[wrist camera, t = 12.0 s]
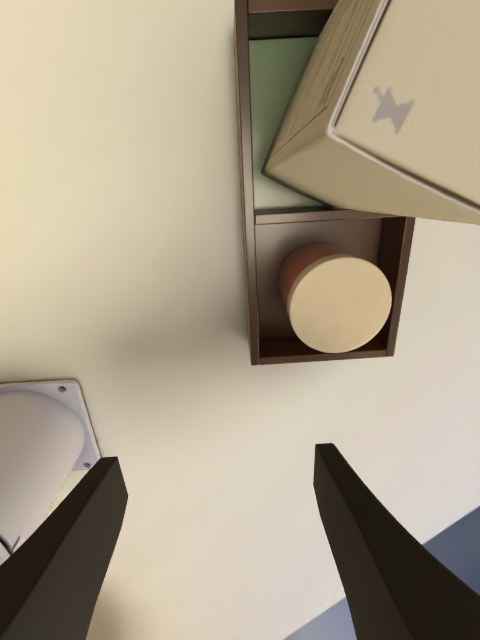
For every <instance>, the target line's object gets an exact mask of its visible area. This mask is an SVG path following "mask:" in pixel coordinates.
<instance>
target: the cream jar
mask: <svg viewBox="0 0 480 640" xmlns="http://www.w3.org/2000/svg"><path fill="white" fill-rule="evenodd" d="M277 287H278V292H279V295H280V297H281V299H282V301H283V304H284V306H285V308H286V310H287V313H288V318H289V321H290V323H291V326H292V328H293V330H294V332H295V333H296V335H297V336H298V337H299V339H300V340H301V341H302V342H303V343H305V344H306V345H307V346H309V347H311V348H313V349H315V350H318V351H322V352H327V353H341V352H346V351H350V350H353V349H356V348H358V347H360V346H362V345H364V344H365V343H367V342H368V341H369V340H371V339H372V338H373V337H374V336H375V335H376V334H377V333H378V332H379V331H380V330H381V328H382V327H383V325H384V324H385V322H386V320H387V318H388V315H389V312H390V308H391V300H392V297H391V289H390V285H389V283H388V280H387V279H386V277H385V275H384V274H383V273H382V271H381V270H380V269H379V268H378V267H376V266H375V265H374V264H372V263H371V262H369V261H367V260H365V259H363V258H361V257H358V256H355V255H352V254H350V253H348V252H346V251H344V250H343V249H341V248H339V247H337V246H335V245H333V244H331V243H327V242H311V243H307V244H305V245H302V246H300V247H298V248H297V249H295V250H294V251H292V252H291V253H290V254H289V255H288V256H287V258H286V259H285V260H284V262H283V263H282V265H281V267H280V270H279V273H278V278H277Z"/></svg>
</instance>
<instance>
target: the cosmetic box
mask: <svg viewBox="0 0 480 640" xmlns="http://www.w3.org/2000/svg"><path fill="white" fill-rule="evenodd" d="M261 173H262V175H264V176H266V177H268V178H270V179H272V180H274V181H276V182H278V183H279V184H281V185H283V186H285V187H287V188H289V189H292V190H294V191H296V192H298V193H300V194H302V195H304V196H306V197H308V198H310V199H313V200H315V201H317V202H319V203H322V204H324V205H326V206H329V207H338V208H344V209H352V210H361V211H367V212H375V213H383V214H392V215H399V216H408V217H416V218H425V219H434V220H442V221H450V222H460V223H470V224H479V225H480V0H339V1H338V3H337V5H336V7H335V8H334V10H333V12H332V14H331V16H330V17H329V19H328V21H327V23H326V25H325V26H324V28H323V30H322V32H321V34H320V35H319V37H318V39H317V41H316V42H315V44H314V46H313V49H312V51H311V53H310V55H309V58H308V60H307V62H306V64H305V67H304V69H303V71H302V73H301V76H300V78H299V80H298V83H297V85H296V87H295V90H294V92H293V94H292V97H291V99H290V101H289V104H288V106H287V108H286V111H285V113H284V116H283V118H282V120H281V123H280V125H279V128H278V130H277V133H276V135H275V138H274V140H273V142H272V145H271V147H270V150H269V153H268V155H267V158H266V160H265V163H264V165H263V168H262V172H261Z"/></svg>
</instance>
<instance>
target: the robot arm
mask: <svg viewBox="0 0 480 640" xmlns="http://www.w3.org/2000/svg"><path fill="white" fill-rule="evenodd" d="M61 386H64V387H65V388H66V389H63V388H62V387H61ZM88 469H90V470H89V471H88V472H87V474H86V475H85V476H84V477H83V478H82V479H81V481H80V482H79V483H78V484H77V485H76V486H75V488H74V489H73V490H72V491H71V492H70V493H69V494H68V496H67V497H66V498H65V499H64V500H63V501H62V502H61V503H60V505H59V506H58V507H57V508H56V509H55V510H54V511H53V512H52V513H51V515H50V516H49V517H48V518H47V519H46V520H45V521H44V519H45V517H46V515H47V513H48V511H49V510H50V508H51V506H52V504H53V502H54V501H55V499H56V497H57V495H58V493H59V491H60V490H61V488H62V486H63V484H64V482H65V481H66V479H67V477H68V475H69V473H70V471H73V470H88ZM313 485H314V490H315V495H316V499H317V504H318V508H319V513H320V516H321V520H322V523H323V526H324V529H325V532H326V535H327V538H328V541H329V544H330V547H331V551H332V554H333V557H334V560H335V563H336V566H337V569H338V572H339V575H340V578H341V581H342V584H343V587H344V591H345V594H346V598H347V601H348V605H349V609H350V613H351V617H352V621H353V625H354V629H355V633H356V637H357V640H480V595H478V594H477V593H476V592H475V591H474V590H472V589H471V588H470V587H469V586H468V585H466V584H465V583H464V582H463V581H462V580H460V579H459V578H458V577H457V576H455V575H454V574H453V573H452V572H451V571H450V570H449V569H447V568H446V567H445V566H444V565H443V564H442V563H441V562H439V561H438V560H437V559H436V558H435V557H434V556H433V555H432V554H431V553H430V552H429V551H428V550H426V549H425V548H424V547H423V546H422V545H421V544H420V543H419V542H418V541H417V540H416V539H415V538H414V537H413V536H412V535H411V534H410V533H409V532H408V531H407V530H406V529H405V528H404V527H403V526H402V525H401V524H400V523H399V522H398V521H397V520H396V519H395V518H394V517H393V516H392V514H391V513H390V512H389V511H388V510H387V509H386V508H385V507H384V506H383V505H382V504H381V502H380V501H379V500H378V499H377V498H376V497H375V496H374V494H373V493H372V492H371V491H370V490H369V488H368V487H367V486H366V485H365V484H364V483H363V481H362V480H361V479H360V478H359V476H358V475H357V474H356V473H355V471H354V470H353V469H352V468H351V466H350V465H349V464H348V462H347V461H346V460H345V458H344V457H343V456H342V454H341V453H340V452H339V450H338V449H337V447H336V446H335V445H334V444H333V443H326V444H316V445H315V464H314V482H313ZM127 500H128V493H127V490H126V486H125V482H124V479H123V475H122V472H121V468H120V464H119V461H118V457H103V458H101V456H100V453H99V450H98V446H97V443H96V440H95V436H94V433H93V430H92V427H91V423H90V420H89V417H88V413H87V410H86V407H85V403H84V400H83V397H82V394H81V390H80V387H79V384H78V383H77V382H76V381H74V380H55V381H39V382H24V383H8V384H0V640H86V636H87V632H88V628H89V624H90V620H91V617H92V614H93V611H94V607H95V604H96V601H97V598H98V595H99V592H100V589H101V586H102V583H103V580H104V578H105V575H106V572H107V569H108V566H109V563H110V560H111V557H112V554H113V551H114V548H115V545H116V542H117V539H118V536H119V533H120V530H121V527H122V523H123V518H124V514H125V509H126V505H127ZM43 521H44V522H43ZM42 522H43V523H42Z"/></svg>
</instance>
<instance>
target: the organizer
mask: <svg viewBox="0 0 480 640" xmlns="http://www.w3.org/2000/svg"><path fill="white" fill-rule="evenodd" d="M338 1H339V0H235V3H234V31H233V35H234V56H235V77H236V98H237V119H238V140H239V161H240V181H241V202H242V223H243V244H244V265H245V286H246V306H247V327H248V344H249V352H250V360H251V365H259V364H260V365H266V364H282V363H298V362H313V361H329V360H344V359H360V358H376V357H391V356H394V351H395V344H396V338H397V332H398V326H399V319H400V313H401V307H402V300H403V294H404V288H405V281H406V275H407V269H408V263H409V256H410V250H411V244H412V237H413V231H414V225H415V218H416V217H408V216H399V215H392V214H383V213H375V212H367V211H361V210H352V209H344V208H338V207H329V206H326V205H324V204H322V203H319V202H317V201H315V200H313V199H310V198H308V197H306V196H304V195H302V194H300V193H298V192H296V191H294V190H292V189H289V188H287V187H285V186H283V185H281V184H279V183H278V182H276V181H274V180H272V179H270V178H268V177H266V176H264V175H262V173H261V172H262V168H263V165H264V163H265V160H266V158H267V155H268V153H269V150H270V147H271V145H272V142H273V140H274V138H275V135H276V133H277V130H278V128H279V125H280V123H281V120H282V118H283V116H284V113H285V111H286V108H287V106H288V104H289V101H290V99H291V97H292V94H293V92H294V90H295V87H296V85H297V83H298V80H299V78H300V76H301V73H302V71H303V69H304V67H305V64H306V62H307V60H308V58H309V55H310V53H311V51H312V49H313V46H314V44H315V42H316V41H317V39H318V37H319V35H320V34H321V32H322V30H323V28H324V26H325V25H326V23H327V21H328V19H329V17H330V16H331V14H332V12H333V10H334V8H335V7H336V5H337V3H338ZM311 242H327V243H331V244H333V245H335V246H337V247H339V248H341V249H343V250H344V251H346V252H348V253H350V254H352V255H355V256H358V257H361V258H363V259H365V260H367V261H369V262H371V263H372V264H374V265H375V266H376V267H378V268H379V269H380V270H381V271H382V273H383V274H384V275H385V277H386V279H387V280H388V283H389V285H390V289H391V297H392V300H391V308H390V312H389V315H388V318H387V320H386V322H385V324H384V325H383V327H382V328H381V330H380V331H379V332H378V333H377V334H376V335H375V336H374V337H373V338H372V339H371V340H369V341H368V342H367V343H365V344H364V345H362V346H360V347H358V348H356V349H353V350H350V351H346V352H341V353H327V352H322V351H318V350H315V349H313V348H311V347H309V346H307V345H306V344H305V343H303V342H302V341H301V340H300V339H299V337H298V336H297V335H296V333H295V332H294V330H293V328H292V326H291V323H290V321H289V318H288V313H287V310H286V308H285V306H284V304H283V301H282V299H281V297H280V295H279V292H278V287H277V278H278V273H279V270H280V267H281V265H282V263H283V262H284V260H285V259H286V258H287V256H288V255H289V254H290V253H291V252H292V251H294V250H295V249H297V248H298V247H300V246H302V245H305V244H307V243H311Z"/></svg>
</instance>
